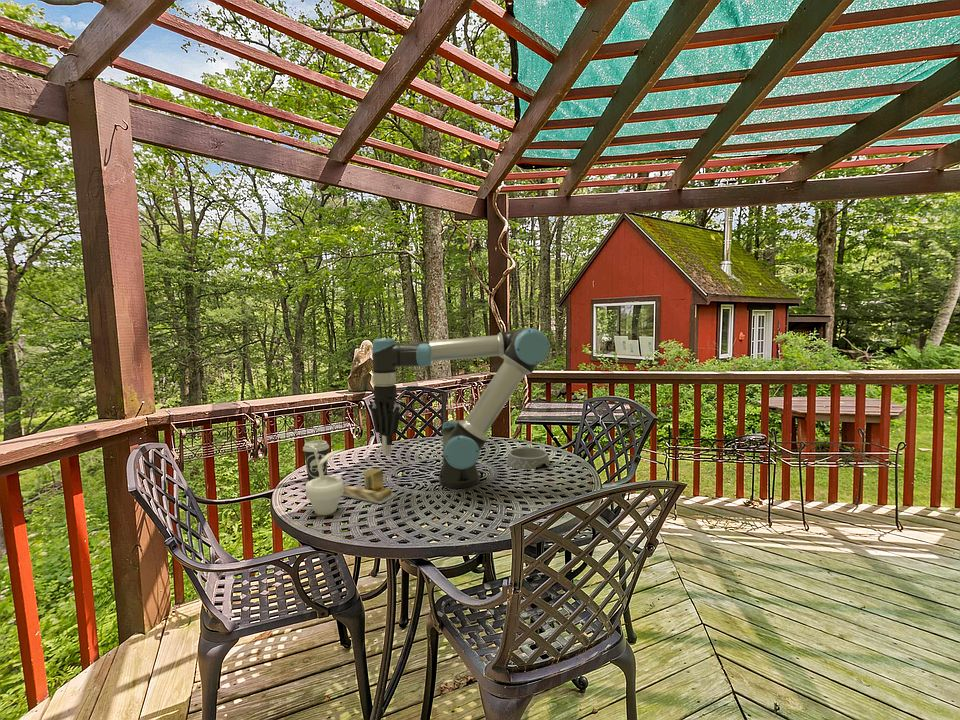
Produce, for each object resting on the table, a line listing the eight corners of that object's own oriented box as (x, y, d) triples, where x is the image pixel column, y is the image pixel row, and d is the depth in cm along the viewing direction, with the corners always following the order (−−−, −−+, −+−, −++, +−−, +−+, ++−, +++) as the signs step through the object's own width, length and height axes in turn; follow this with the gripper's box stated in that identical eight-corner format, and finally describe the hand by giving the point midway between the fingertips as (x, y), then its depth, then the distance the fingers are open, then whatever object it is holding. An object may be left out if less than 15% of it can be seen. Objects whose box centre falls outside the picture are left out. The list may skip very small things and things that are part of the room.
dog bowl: (558, 465, 198) (558, 453, 198) (524, 474, 188) (523, 461, 188) (531, 456, 212) (531, 444, 212) (498, 463, 202) (498, 451, 202)
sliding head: (383, 490, 169) (382, 469, 168) (372, 496, 164) (371, 474, 163) (374, 488, 171) (373, 468, 170) (363, 494, 166) (362, 473, 165)
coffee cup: (336, 479, 186) (334, 441, 184) (318, 487, 177) (316, 447, 176) (317, 476, 190) (315, 438, 188) (298, 483, 181) (296, 444, 180)
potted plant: (308, 522, 147) (304, 441, 145) (305, 508, 158) (301, 433, 155) (350, 514, 152) (347, 436, 150) (345, 501, 163) (342, 429, 160)
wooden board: (395, 496, 167) (395, 493, 167) (380, 504, 160) (380, 501, 160) (358, 488, 175) (358, 485, 175) (342, 495, 168) (342, 492, 168)
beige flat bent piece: (393, 493, 167) (393, 486, 167) (378, 501, 160) (378, 494, 160) (356, 486, 175) (356, 479, 175) (340, 493, 168) (340, 486, 168)
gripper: (407, 384, 161) (409, 453, 163) (377, 382, 167) (379, 448, 170) (393, 387, 155) (395, 459, 157) (362, 385, 161) (364, 454, 163)
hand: (386, 453), depth 163 cm, fingers closed
